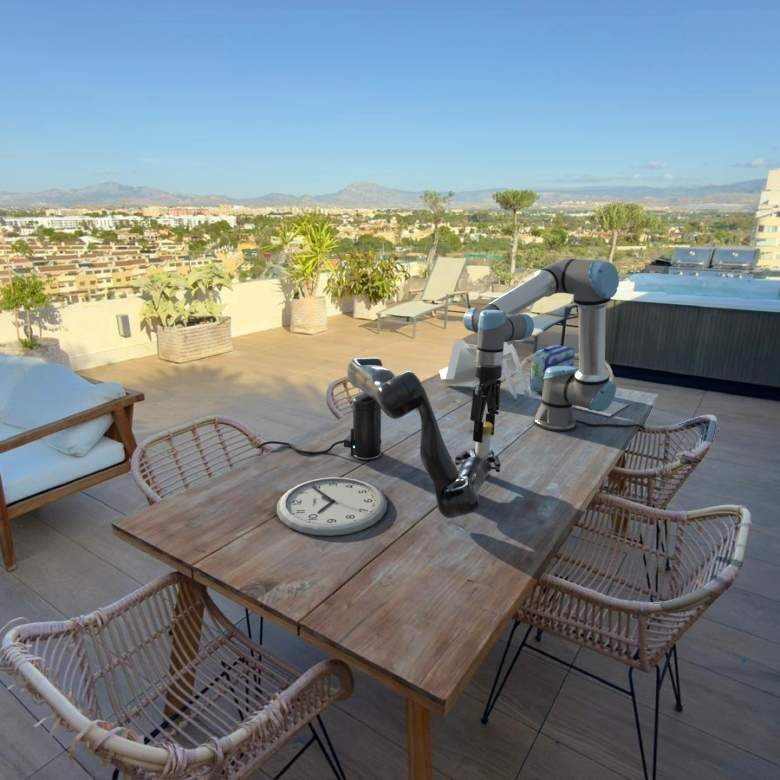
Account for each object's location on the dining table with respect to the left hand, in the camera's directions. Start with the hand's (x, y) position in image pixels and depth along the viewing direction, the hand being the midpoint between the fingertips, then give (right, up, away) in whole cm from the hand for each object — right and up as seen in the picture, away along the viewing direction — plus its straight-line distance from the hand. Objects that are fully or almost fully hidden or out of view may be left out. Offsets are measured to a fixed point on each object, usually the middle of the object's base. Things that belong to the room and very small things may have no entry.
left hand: (483, 451), depth 162 cm
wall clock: (-45, -12, -20) cm, 50 cm away
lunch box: (+47, +19, +86) cm, 100 cm away
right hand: (-1, +5, -4) cm, 6 cm away
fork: (-16, +12, +61) cm, 64 cm away
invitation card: (+62, +12, +64) cm, 90 cm away
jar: (-1, -7, 0) cm, 7 cm away
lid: (-1, +9, -5) cm, 10 cm away
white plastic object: (+13, +18, +81) cm, 84 cm away
